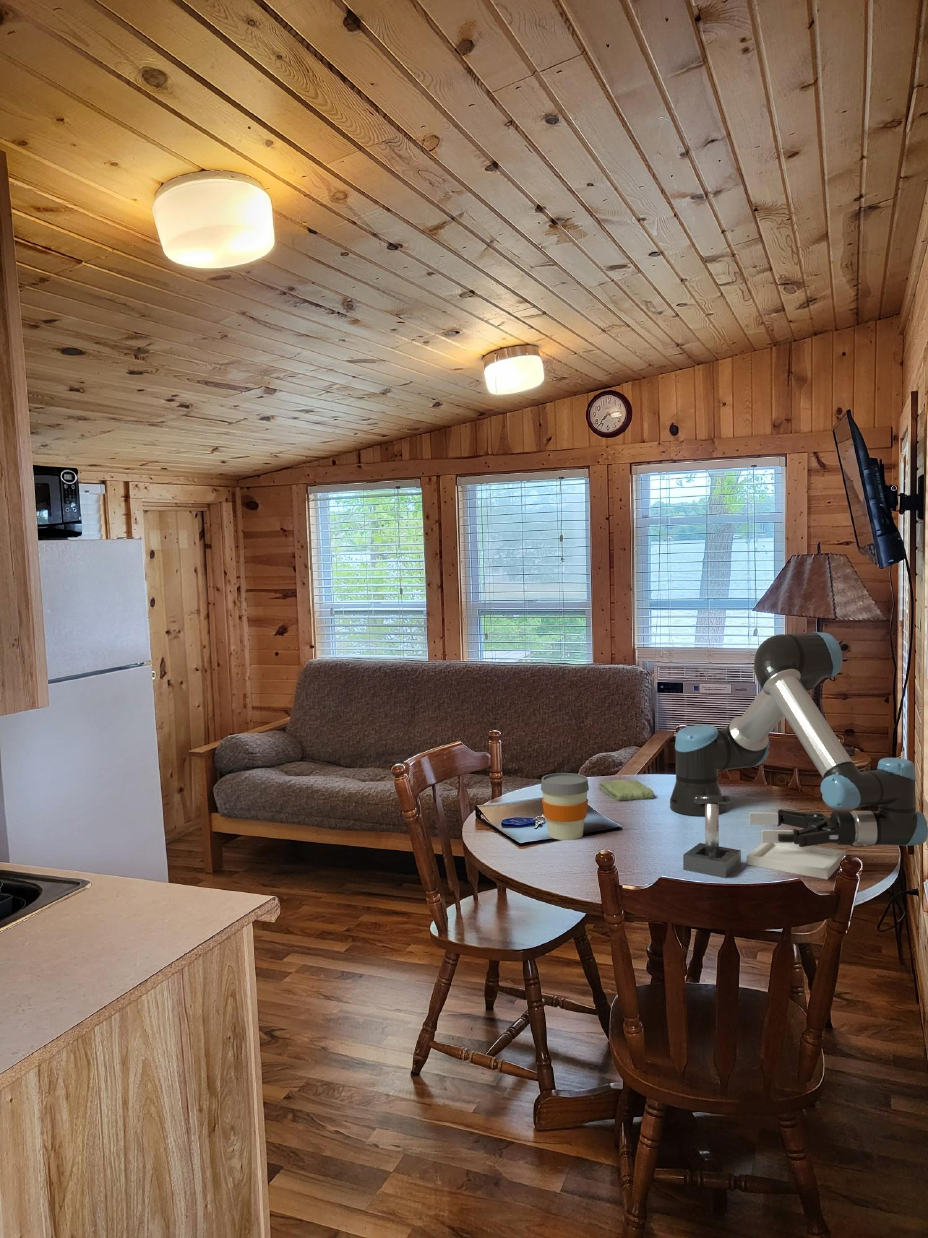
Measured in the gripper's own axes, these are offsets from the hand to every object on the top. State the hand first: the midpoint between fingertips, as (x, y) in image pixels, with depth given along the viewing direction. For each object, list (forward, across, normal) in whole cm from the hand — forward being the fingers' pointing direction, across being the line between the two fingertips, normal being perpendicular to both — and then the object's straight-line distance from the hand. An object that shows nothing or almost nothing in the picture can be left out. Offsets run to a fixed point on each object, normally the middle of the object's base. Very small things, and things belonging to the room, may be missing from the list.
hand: (755, 827), depth 201 cm
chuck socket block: (+10, 0, -10) cm, 14 cm away
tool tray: (-10, +5, -10) cm, 15 cm away
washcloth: (+26, +65, -10) cm, 70 cm away
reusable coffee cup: (+44, +23, -10) cm, 51 cm away
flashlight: (-24, +23, -10) cm, 35 cm away
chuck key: (+10, 0, -9) cm, 13 cm away
